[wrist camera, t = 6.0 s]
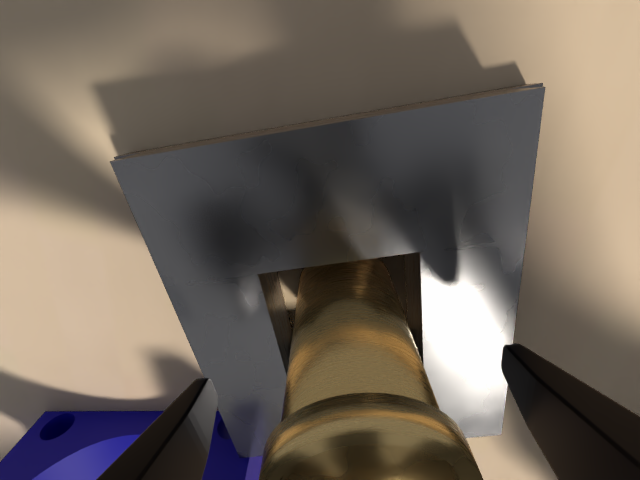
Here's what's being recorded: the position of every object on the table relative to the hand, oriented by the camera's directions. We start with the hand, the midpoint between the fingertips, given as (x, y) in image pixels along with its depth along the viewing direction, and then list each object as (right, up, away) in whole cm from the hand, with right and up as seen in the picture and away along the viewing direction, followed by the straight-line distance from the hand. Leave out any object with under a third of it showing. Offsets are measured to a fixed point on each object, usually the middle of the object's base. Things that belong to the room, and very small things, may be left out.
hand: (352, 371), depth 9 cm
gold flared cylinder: (0, +2, +4) cm, 5 cm away
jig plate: (0, +2, +4) cm, 4 cm away
